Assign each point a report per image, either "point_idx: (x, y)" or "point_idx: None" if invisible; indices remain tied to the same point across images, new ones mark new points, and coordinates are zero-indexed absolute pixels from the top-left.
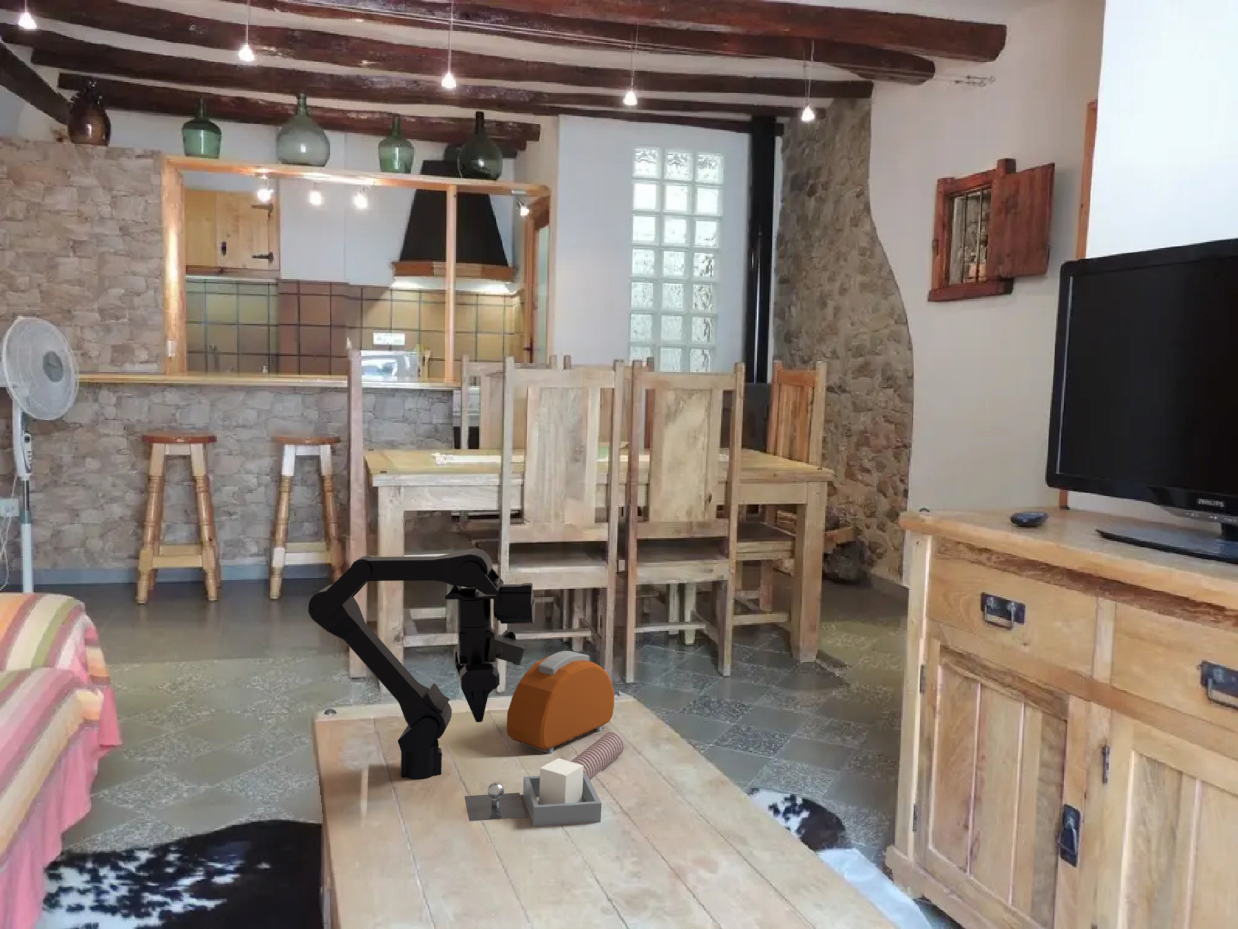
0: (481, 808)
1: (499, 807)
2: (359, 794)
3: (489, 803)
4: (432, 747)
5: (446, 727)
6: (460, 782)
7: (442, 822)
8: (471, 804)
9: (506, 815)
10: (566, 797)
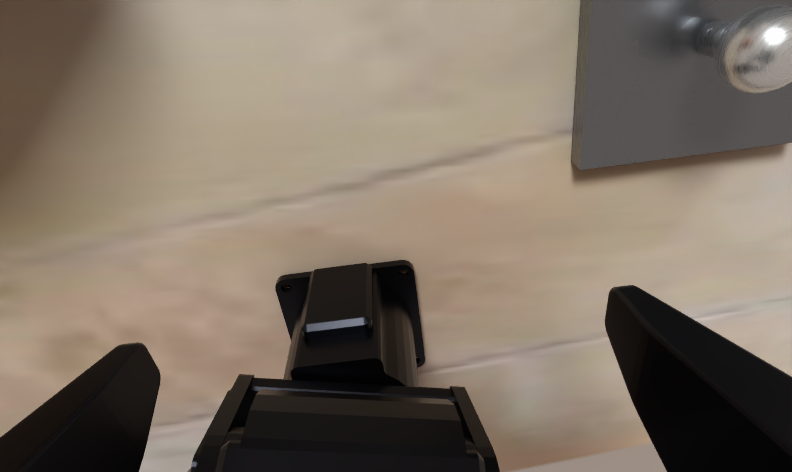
0: (714, 99)
1: (733, 18)
2: None
3: (678, 66)
4: (393, 376)
5: (359, 402)
6: (388, 186)
7: (709, 222)
8: (664, 141)
9: None
10: None
